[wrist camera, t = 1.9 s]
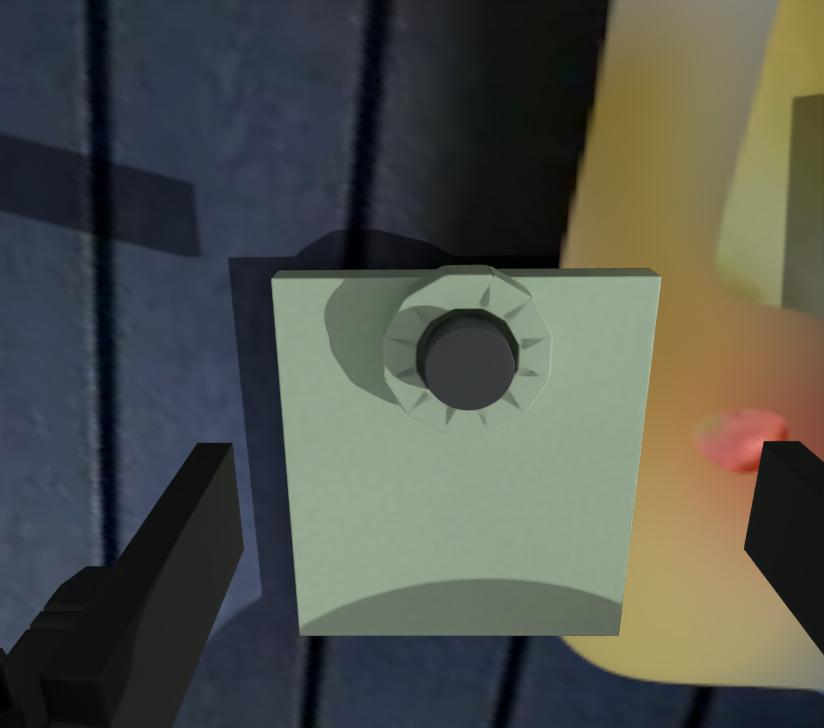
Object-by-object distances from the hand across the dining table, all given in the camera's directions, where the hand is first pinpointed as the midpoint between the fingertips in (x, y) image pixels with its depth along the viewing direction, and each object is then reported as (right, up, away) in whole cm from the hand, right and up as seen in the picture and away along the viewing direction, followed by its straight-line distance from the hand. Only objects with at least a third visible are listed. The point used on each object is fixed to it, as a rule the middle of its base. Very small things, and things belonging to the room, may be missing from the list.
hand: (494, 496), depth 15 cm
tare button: (0, +3, +9) cm, 10 cm away
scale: (0, -1, +13) cm, 13 cm away
